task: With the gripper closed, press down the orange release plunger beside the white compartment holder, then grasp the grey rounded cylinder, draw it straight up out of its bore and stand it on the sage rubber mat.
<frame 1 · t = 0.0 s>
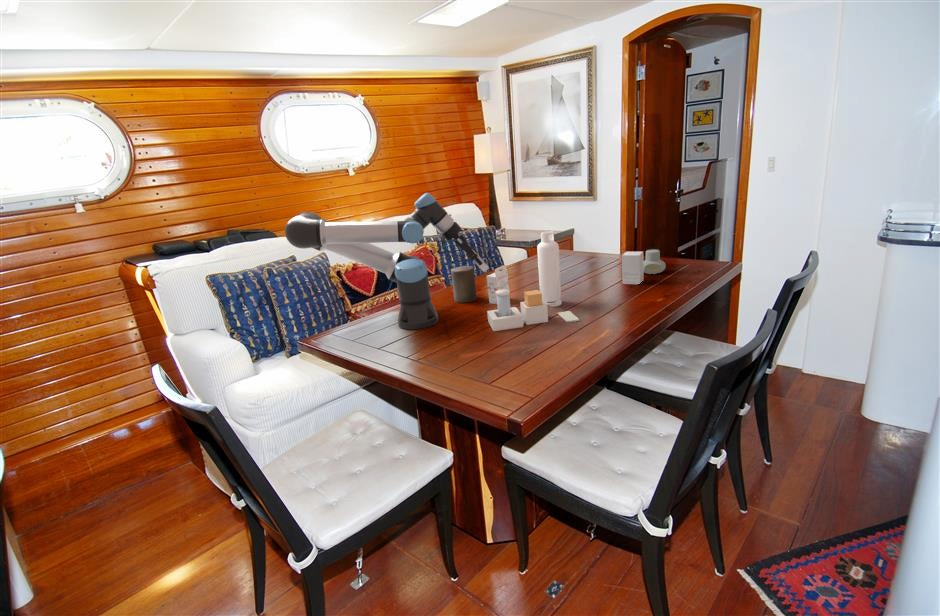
hand: (483, 266, 193), 15 cm above the table, tool tilted 35°, fingers open, 13 cm apart
rubber mat: (560, 318, 170), on the table
release plunger: (533, 303, 167), point 7 cm above the table, slide at 0.0 cm
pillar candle: (465, 300, 205), on the table
supplement box: (633, 282, 204), on the table
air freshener: (652, 273, 215), on the table
grey rounded cylinder: (505, 324, 168), point 1 cm above the table, touching white compartment holder
ink cartridge box: (499, 301, 198), on the table
bottle: (551, 304, 188), on the table
white compartment holder: (519, 324, 169), on the table
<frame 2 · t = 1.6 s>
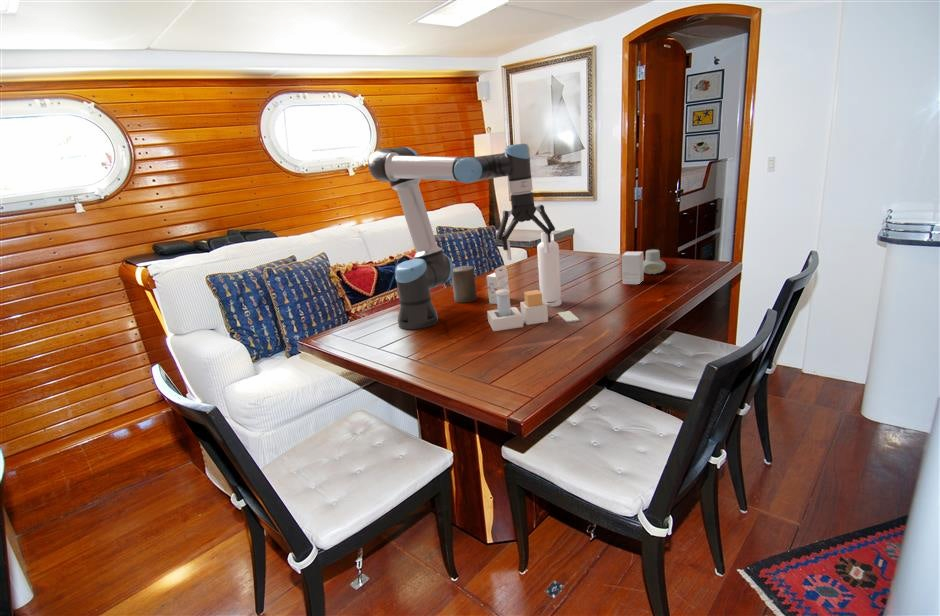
hand: (528, 256, 165), 23 cm above the table, tool pointing down, fingers open, 13 cm apart
nothing on the table moved.
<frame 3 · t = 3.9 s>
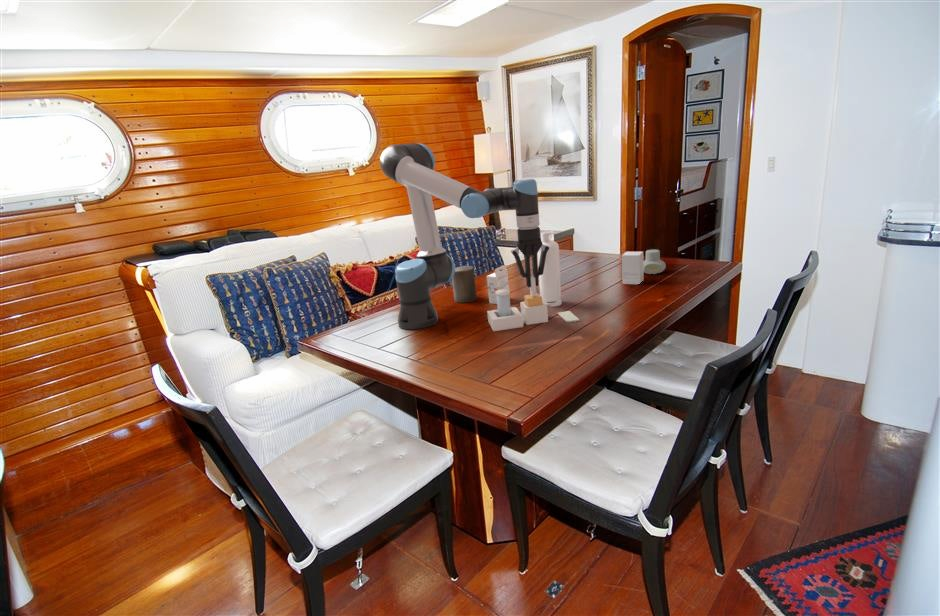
hand: (533, 295, 166), 10 cm above the table, tool pointing down, fingers closed
release plunger: (533, 307, 168), point 6 cm above the table, slide at 1.3 cm, touching gripper
everything else where it was.
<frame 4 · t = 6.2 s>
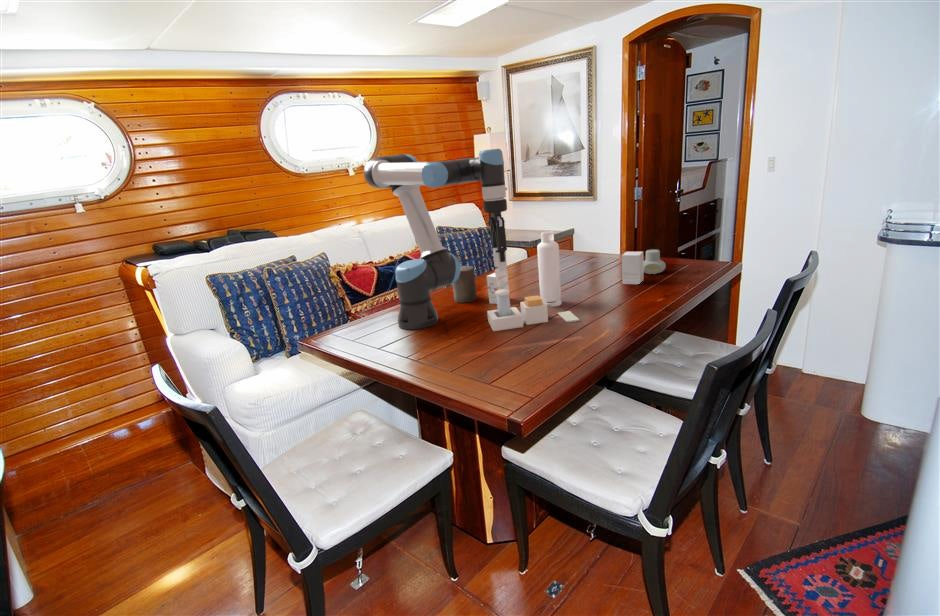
hand: (500, 268, 162), 21 cm above the table, tool pointing down, fingers open, 7 cm apart
release plunger: (533, 309, 168), point 5 cm above the table, slide at 2.0 cm
everything else where it was.
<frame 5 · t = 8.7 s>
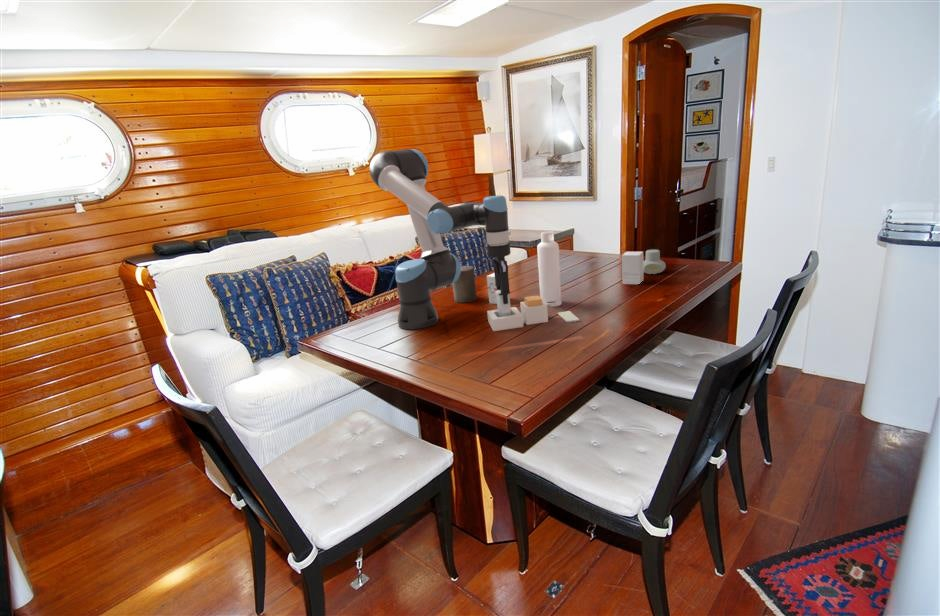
hand: (504, 309, 166), 6 cm above the table, tool pointing down, fingers closed on grey rounded cylinder, 5 cm apart
grey rounded cylinder: (505, 324, 168), point 1 cm above the table, touching white compartment holder, gripper
everything else where it was.
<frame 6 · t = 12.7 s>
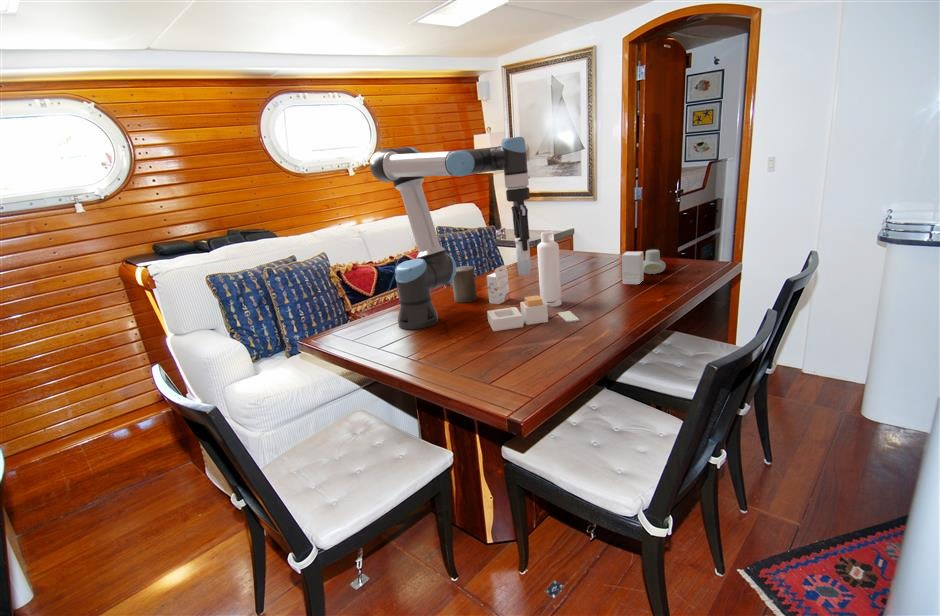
hand: (523, 258, 161), 23 cm above the table, tool pointing down, fingers closed on grey rounded cylinder, 5 cm apart
grey rounded cylinder: (524, 273, 163), point 18 cm above the table, touching gripper
everything else where it was.
when the fingers open (7 cm above the table, at t = 16.8 s): grey rounded cylinder stays where it is, resting on rubber mat.
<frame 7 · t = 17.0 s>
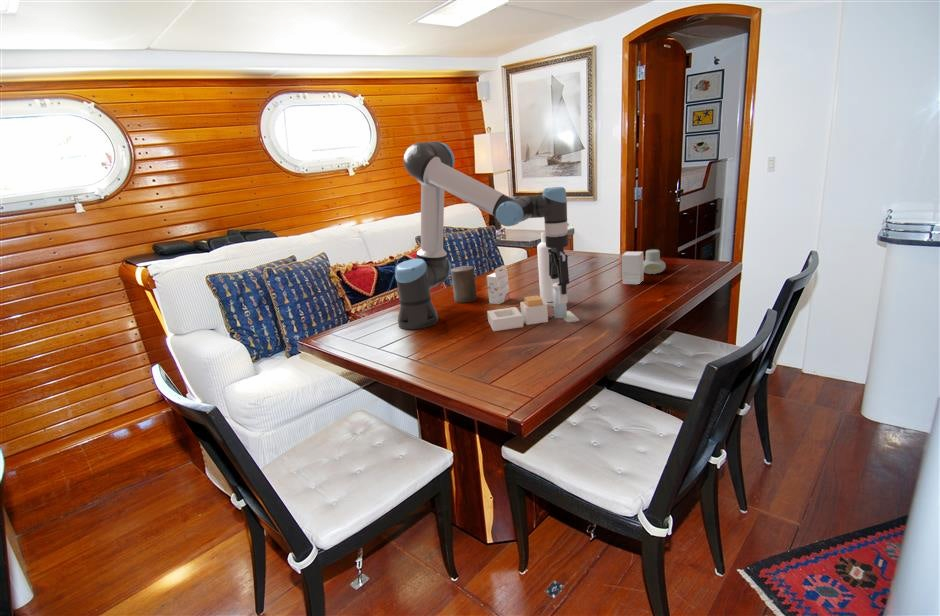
hand: (559, 299, 168), 7 cm above the table, tool pointing down, fingers open, 7 cm apart
grey rounded cylinder: (560, 316, 170), point 1 cm above the table, touching rubber mat
everything else where it was.
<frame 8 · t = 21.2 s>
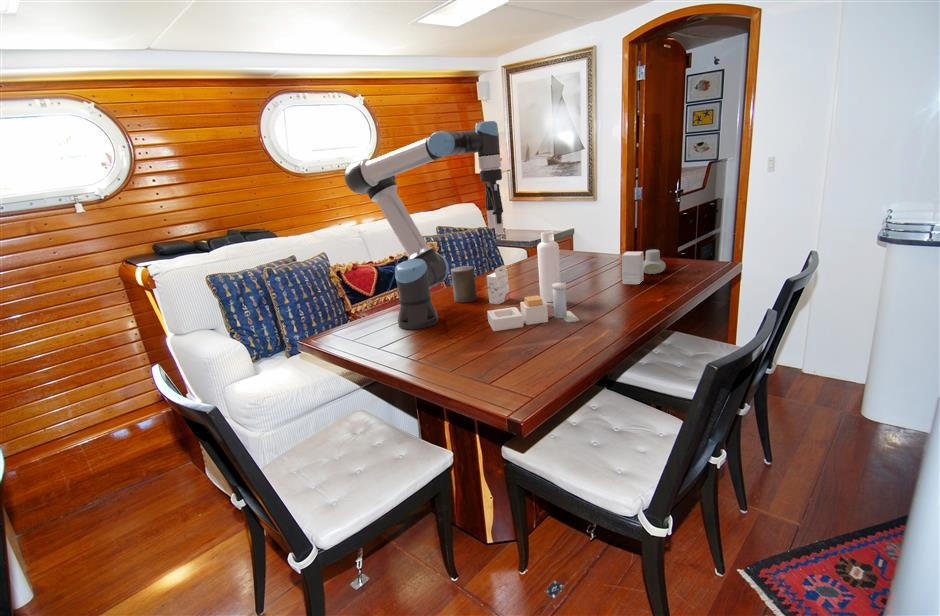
hand: (495, 230, 172), 32 cm above the table, tool pointing down, fingers open, 13 cm apart
nothing on the table moved.
at the end: release plunger slide at 2.0 cm; grey rounded cylinder inside the target area on the rubber mat (0.0 cm from its centre), point 0.6 cm above the rubber mat's base; grey rounded cylinder tilted 0° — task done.
